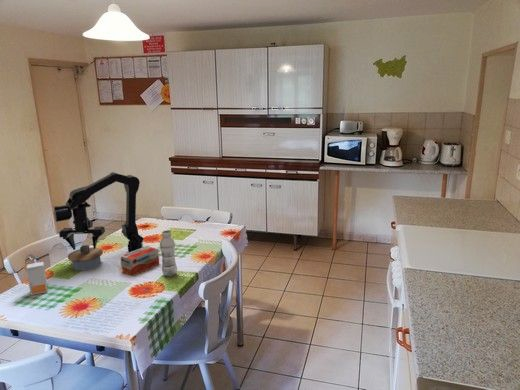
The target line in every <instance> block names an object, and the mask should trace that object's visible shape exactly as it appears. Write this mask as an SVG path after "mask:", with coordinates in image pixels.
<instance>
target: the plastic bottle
mask: <svg viewBox="0 0 520 390" xmlns="http://www.w3.org/2000/svg"><path fill="white" fill-rule="evenodd" d="M161 237H162V238H161V240H160V242H159V247H160V251H161V258H162V259H161V260H162V262H161V263H162V265H161V272H162V275H163V276H165V277H172V276H175V275H176V274H177V272H178V265H177V263H176V258H175V248H176V242H175V239H174V238H173V237H172V231H171V230H164V231H162V232H161Z"/></svg>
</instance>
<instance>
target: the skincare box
mask: <svg viewBox="0 0 520 390" xmlns="http://www.w3.org/2000/svg"><path fill="white" fill-rule="evenodd" d="M26 275H27V281H28V286H29V291H30V296H34V295H39V294H44V293H45V294H46V293H48V280H47V276H46V269H45V261H41V262H40V261H39V262H33V263H28V264H26Z"/></svg>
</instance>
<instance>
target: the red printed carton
mask: <svg viewBox="0 0 520 390" xmlns="http://www.w3.org/2000/svg"><path fill="white" fill-rule="evenodd" d="M120 264H121V271H122V272H123V273H126V274H128V275H131V276H135V275H137V274H140V273H142V272H144V271H147V270H149V269H152V268H154V267H156V266H159V265H160V255H159V249H158V248H155V247H153V246H149V245H145V246H143V248H140V249H137V250H135V251H132V252H127V253H124V254H122V255H120Z"/></svg>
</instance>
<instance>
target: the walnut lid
mask: <svg viewBox="0 0 520 390" xmlns="http://www.w3.org/2000/svg"><path fill="white" fill-rule="evenodd" d="M103 253H104V252H103V249H102V248H100V247H96V248H95V249H94V247H90V244H87V245H81V246H80V248H79V249H75V250H73V251H71V252H70V253H69V254H67V259H68V261H70V262H72V261H74V262H82V261H88V260H92V259H95V258H97V257H99V256H100V257H101V256H102V255H103Z"/></svg>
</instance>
